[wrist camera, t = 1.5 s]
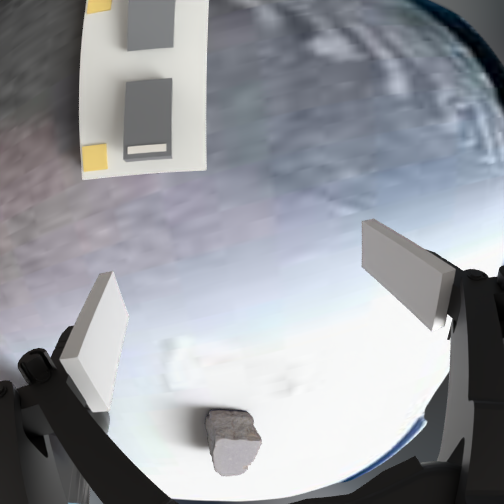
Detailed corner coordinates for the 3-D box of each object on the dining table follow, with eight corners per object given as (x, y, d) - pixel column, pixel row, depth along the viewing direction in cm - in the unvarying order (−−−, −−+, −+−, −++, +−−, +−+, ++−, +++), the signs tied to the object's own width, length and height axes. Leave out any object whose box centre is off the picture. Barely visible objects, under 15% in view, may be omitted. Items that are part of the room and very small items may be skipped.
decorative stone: (246, 396, 48) (188, 411, 46) (257, 428, 42) (192, 444, 40) (262, 440, 54) (213, 453, 53) (272, 467, 48) (219, 481, 46)
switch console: (94, 172, 31) (76, 182, 26) (109, -57, 20) (99, -81, 14) (203, 164, 33) (207, 171, 28) (210, -66, 22) (215, -92, 17)
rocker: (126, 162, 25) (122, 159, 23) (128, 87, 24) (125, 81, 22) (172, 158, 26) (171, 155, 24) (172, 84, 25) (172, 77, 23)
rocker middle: (130, 51, 23) (126, 51, 21) (132, -17, 18) (129, -20, 17) (173, 47, 23) (172, 47, 22) (177, -21, 19) (176, -25, 18)
